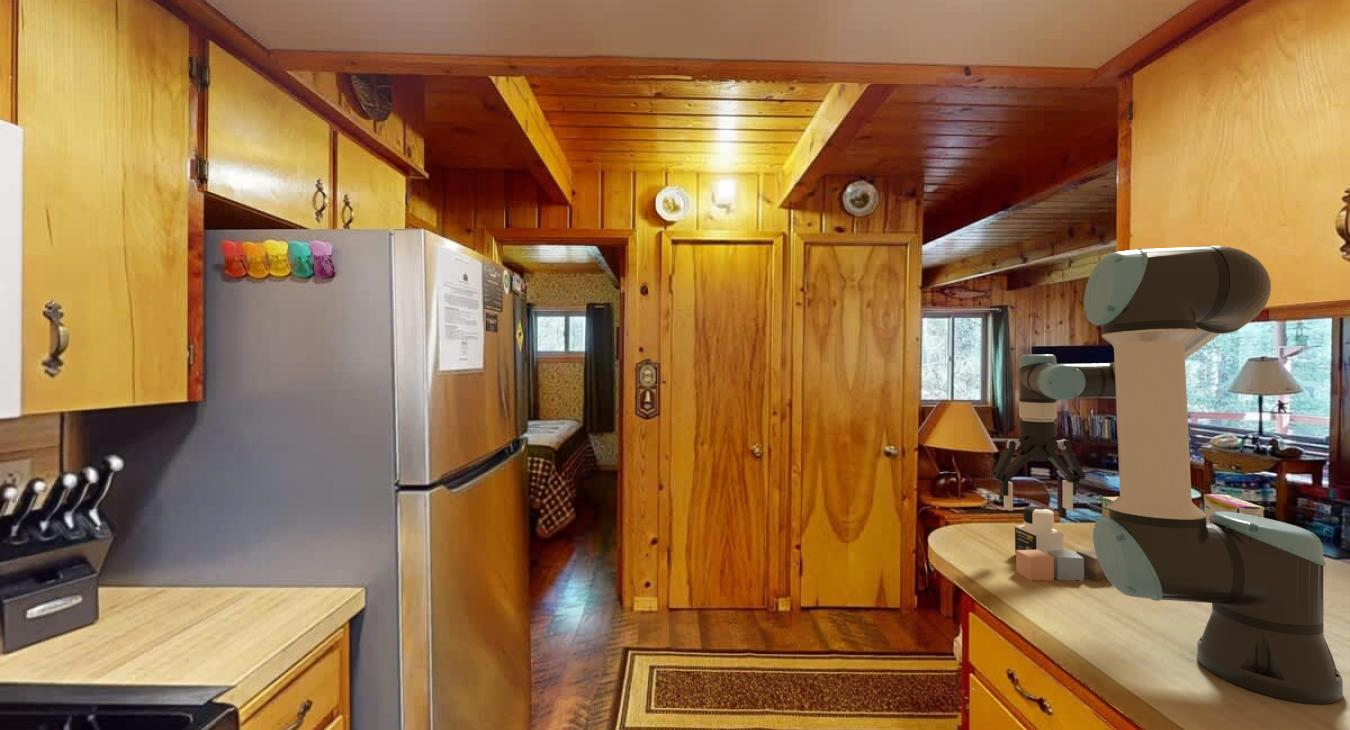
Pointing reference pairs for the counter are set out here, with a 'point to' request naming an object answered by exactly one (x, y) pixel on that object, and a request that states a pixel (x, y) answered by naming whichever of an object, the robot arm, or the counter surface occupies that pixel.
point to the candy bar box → (1230, 506)
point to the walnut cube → (1092, 565)
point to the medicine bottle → (1038, 531)
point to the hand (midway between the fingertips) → (1037, 509)
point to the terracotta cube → (1035, 565)
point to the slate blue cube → (1067, 565)
